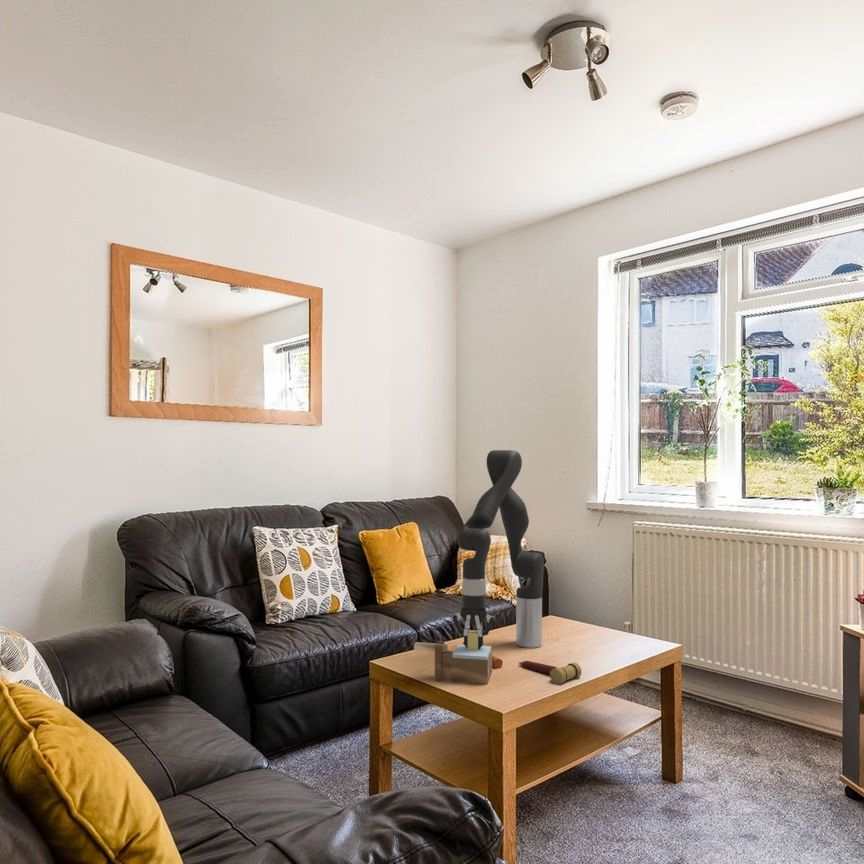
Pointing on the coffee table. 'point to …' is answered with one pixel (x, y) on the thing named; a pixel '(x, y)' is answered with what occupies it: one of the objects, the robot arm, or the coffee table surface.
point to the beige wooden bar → (429, 646)
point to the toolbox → (461, 667)
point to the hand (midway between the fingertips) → (473, 647)
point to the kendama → (496, 662)
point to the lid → (472, 648)
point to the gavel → (555, 670)
